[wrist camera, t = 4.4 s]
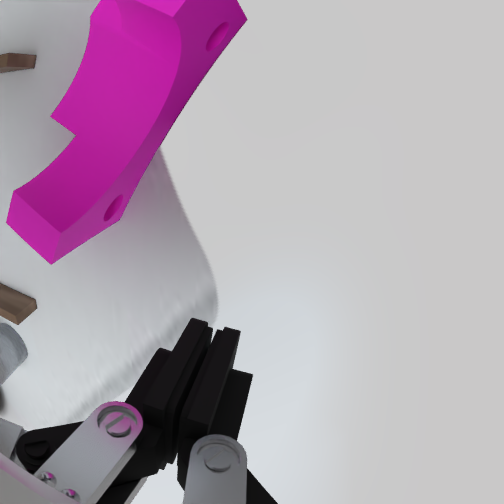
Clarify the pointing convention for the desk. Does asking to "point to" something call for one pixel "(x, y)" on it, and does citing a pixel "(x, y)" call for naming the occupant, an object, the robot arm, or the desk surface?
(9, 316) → the bay
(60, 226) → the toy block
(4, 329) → the metal peg
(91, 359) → the desk surface
